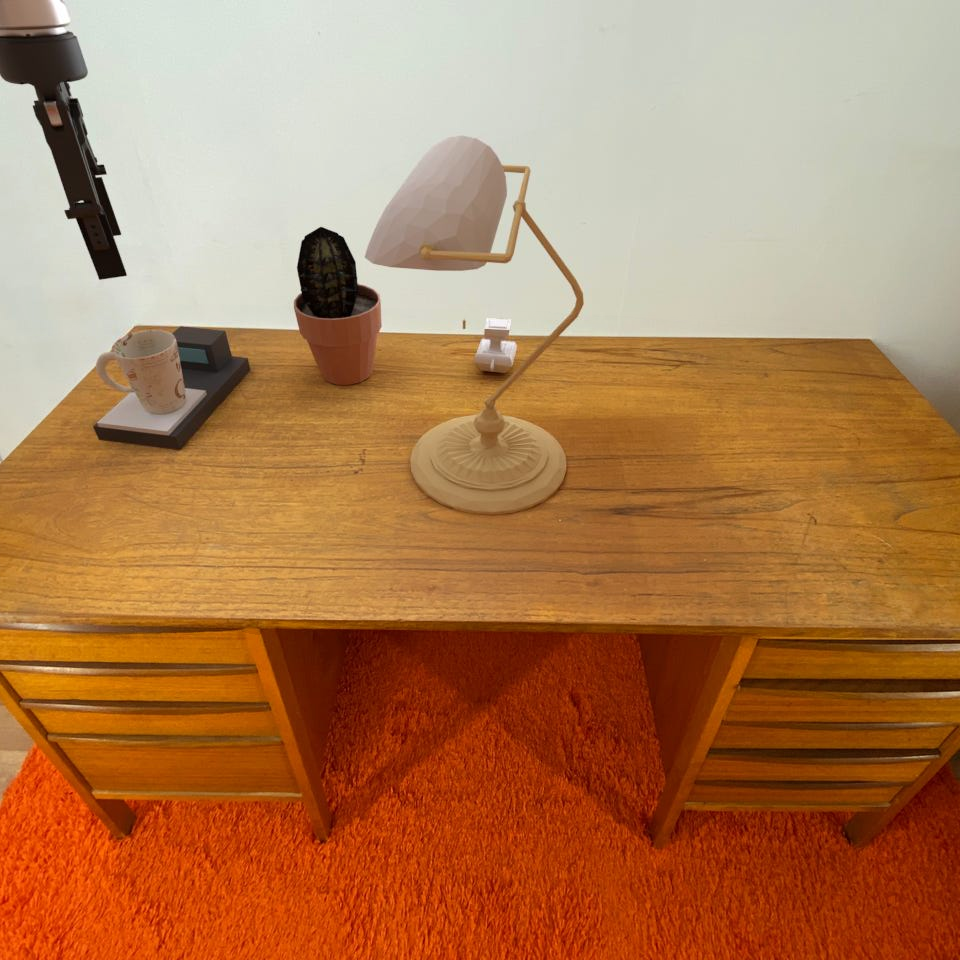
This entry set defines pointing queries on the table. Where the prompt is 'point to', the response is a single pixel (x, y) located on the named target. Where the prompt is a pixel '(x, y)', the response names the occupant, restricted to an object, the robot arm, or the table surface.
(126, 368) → the mug
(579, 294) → the desk lamp
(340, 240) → the potted plant
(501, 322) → the stamp
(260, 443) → the table surface
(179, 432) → the scale
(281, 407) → the table surface
